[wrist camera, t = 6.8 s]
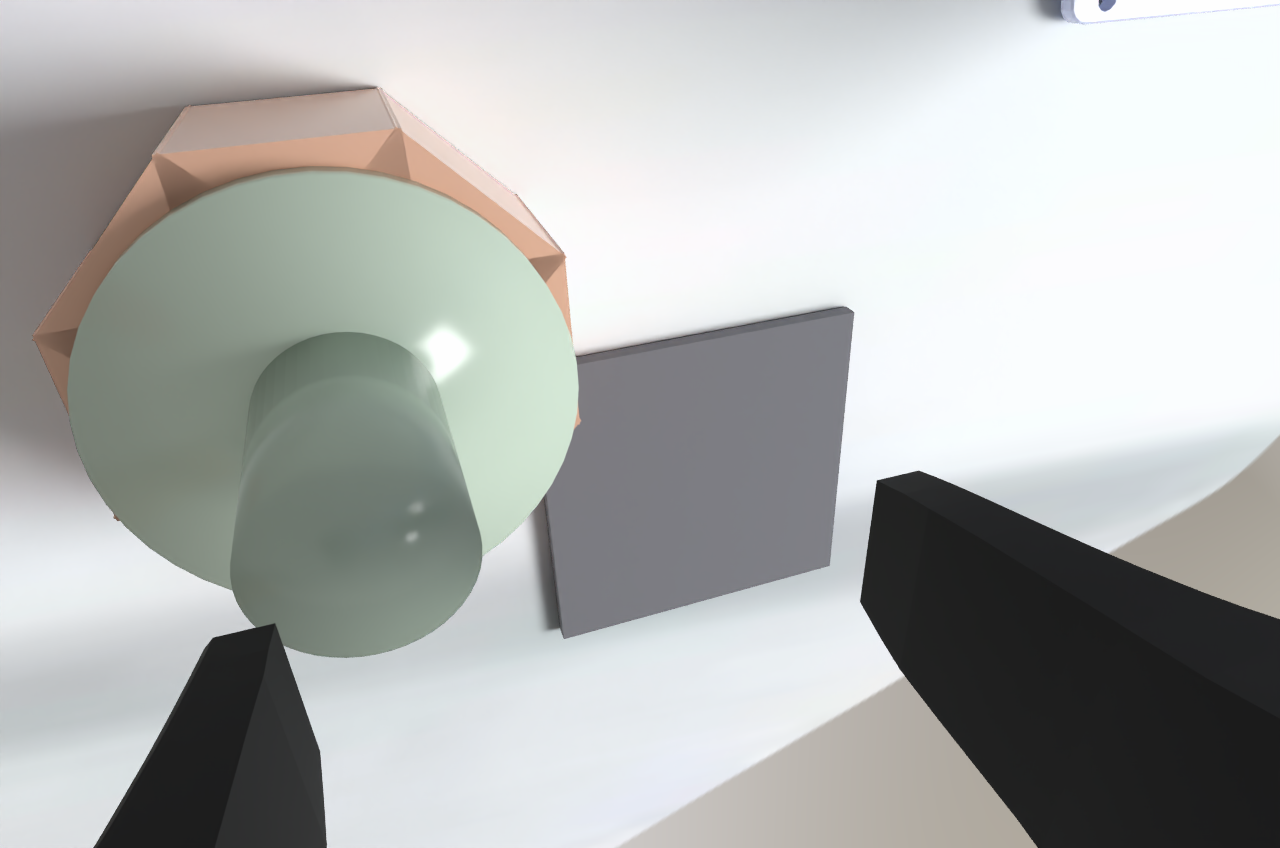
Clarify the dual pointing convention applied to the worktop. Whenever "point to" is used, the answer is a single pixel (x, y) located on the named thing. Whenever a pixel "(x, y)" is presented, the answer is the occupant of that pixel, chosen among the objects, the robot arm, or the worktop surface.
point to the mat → (699, 468)
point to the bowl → (280, 139)
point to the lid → (325, 399)
